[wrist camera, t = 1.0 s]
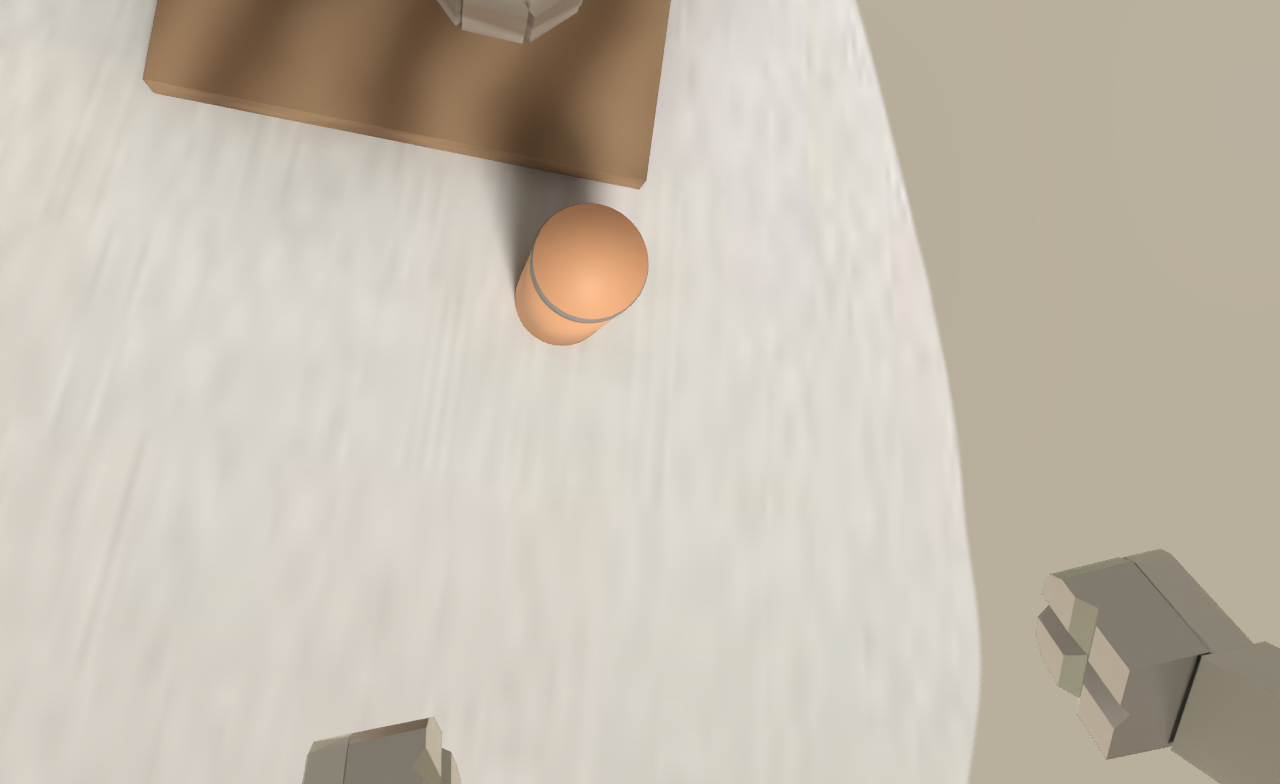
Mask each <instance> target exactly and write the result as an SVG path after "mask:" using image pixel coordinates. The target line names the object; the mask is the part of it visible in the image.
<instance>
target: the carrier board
mask: <svg viewBox="0 0 1280 784" xmlns="http://www.w3.org/2000/svg"><path fill="white" fill-rule="evenodd" d="M670 1H671V0H158V1H157V6H156V12H155V17H154V22H153V27H152V33H151V38H150V43H149V48H148V54H147V59H146V64H145V69H144V75H143V80H144V81H145V83H146V84H147V85H148V86H149V88H150V89H151V90H152V91H153V92H154V93H157V94H162V95H167V96H173V97H178V98H183V99H188V100H193V101H198V102H203V103H208V104H213V105H218V106H223V107H228V108H233V109H238V110H243V111H248V112H253V113H258V114H263V115H268V116H273V117H278V118H283V119H288V120H293V121H298V122H303V123H308V124H313V125H318V126H323V127H328V128H334V129H339V130H344V131H349V132H354V133H359V134H364V135H369V136H374V137H379V138H384V139H389V140H394V141H399V142H404V143H409V144H414V145H419V146H424V147H429V148H434V149H439V150H444V151H449V152H454V153H459V154H464V155H469V156H474V157H479V158H484V159H489V160H494V161H500V162H505V163H510V164H515V165H520V166H525V167H530V168H535V169H540V170H545V171H550V172H555V173H560V174H565V175H570V176H575V177H580V178H585V179H590V180H595V181H600V182H605V183H610V184H615V185H620V186H625V187H630V188H635V189H640V188H641V187H642V185H643V184H644V183H645V181H646V178H647V171H648V163H649V156H650V149H651V141H652V134H653V127H654V119H655V112H656V105H657V97H658V90H659V82H660V75H661V68H662V60H663V53H664V46H665V38H666V31H667V24H668V16H669V9H670Z"/></svg>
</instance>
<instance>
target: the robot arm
mask: <svg viewBox="0 0 1280 784" xmlns="http://www.w3.org/2000/svg"><path fill="white" fill-rule="evenodd" d="M1042 595H1043V597H1044V598H1045V600H1046V601H1047V602H1048V604H1049V605H1048V606H1047V608H1046V609H1045V610H1044V611H1043V612H1042V613H1041V614H1040V615H1039V616H1038V622H1037V631H1036V635H1037V640H1038V645H1039V649H1040V654H1041V656H1042V658H1043V661H1044V663H1045V665H1046V667H1047V669H1048V671H1049V673H1050V674H1051V676H1052V677H1053V679H1054V681H1055V682H1056V684H1057V685H1058V687H1060V688H1062V689H1064V690H1066V691H1067V692H1069V693H1071V694H1073V695H1074V696H1076V697H1078V698H1079V701H1078V709H1077V716H1078V718H1079V719H1080V721H1081V722H1082V724H1083V725H1084V727H1085V728H1086V730H1087V732H1088V733H1089V735H1090V736H1091V738H1092V739H1093V741H1094V742H1095V743H1096V745H1097V747H1098V748H1099V750H1100V751H1101V753H1102V754H1103V756H1104V757H1105V759H1106V760H1108V759H1112V758H1117V757H1122V756H1127V755H1131V754H1137V753H1141V752H1146V751H1151V750H1156V749H1160V748H1165V747H1170V746H1172V747H1171V751H1173V752H1174V753H1176V754H1177V755H1179V756H1180V757H1182V758H1183V759H1185V760H1186V761H1188V762H1189V763H1191V764H1192V765H1194V766H1195V767H1196V768H1198V769H1199V770H1201V771H1202V772H1204V773H1205V774H1207V775H1208V776H1210V777H1211V778H1213V779H1214V780H1216V781H1217V782H1218V783H1220V784H1280V648H1278V647H1276V646H1274V645H1271V644H1269V643H1267V642H1259V643H1254V644H1253V643H1252V641H1251V640H1250V639H1249V638H1248V637H1247V636H1246V635H1245V634H1244V633H1243V632H1242V631H1241V629H1240V628H1239V627H1238V626H1237V625H1236V624H1235V623H1234V622H1233V621H1232V620H1231V619H1230V617H1229V616H1228V615H1227V614H1226V613H1225V612H1224V611H1223V610H1222V609H1221V608H1220V607H1219V606H1218V604H1217V603H1216V602H1215V601H1214V600H1213V599H1212V598H1211V597H1210V596H1209V595H1208V594H1207V593H1206V591H1205V590H1204V589H1203V588H1202V587H1201V586H1200V585H1199V584H1198V583H1197V582H1196V581H1195V580H1194V578H1193V577H1192V576H1191V575H1190V574H1189V573H1188V572H1187V571H1186V570H1185V569H1184V568H1183V567H1182V565H1181V564H1180V563H1179V562H1178V561H1177V560H1176V559H1175V558H1174V557H1173V556H1172V555H1171V554H1170V553H1168V552H1166V551H1164V550H1162V549H1159V550H1152V551H1148V552H1144V553H1140V554H1136V555H1131V556H1128V557H1124V558H1114V559H1110V560H1106V561H1102V562H1098V563H1094V564H1090V565H1086V566H1082V567H1078V568H1074V569H1069V570H1065V571H1061V572H1057V573H1053V574H1050V575H1049V576H1048V577H1047V578H1046V579H1045V580H1044V585H1043V589H1042ZM302 784H461V779H460V775H459V771H458V768H457V764H456V762H455V759H454V757H453V755H452V753H451V752H450V751H448V750H445V749H443V748H442V731H441V729H440V727H439V725H438V723H437V722H436V720H435V718H434V717H430V718H425V719H420V720H415V721H411V722H406V723H401V724H396V725H391V726H386V727H381V728H376V729H371V730H366V731H362V732H357V733H351V734H347V735H342V736H338V737H333V738H329V739H324V740H320V741H315V742H313V744H312V746H311V749H310V751H309V753H308V755H307V758H306V765H305V771H304V777H303V783H302Z"/></svg>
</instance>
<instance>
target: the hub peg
mask: <svg viewBox="0 0 1280 784" xmlns="http://www.w3.org/2000/svg"><path fill="white" fill-rule="evenodd" d="M647 274H648V254H647V249H646V246H645V243H644V240H643V238H642V236H641V234H640V232H639V231H638V229H637V228H636V227H635V225H634V224H633V223H632V222H631V221H630V220H629V219H628V218H627V217H625V216H624V215H623V214H621V213H620V212H618V211H616V210H615V209H612V208H610V207H607V206H604V205H600V204H593V203H584V204H576V205H572V206H569V207H566V208H564V209H562V210H560V211H558V212H557V213H555V214H554V215H553V216H551V217H550V218H549V219H548V220H547V221H546V222H545V223H544V224H543V226H542V227H541V229H540V230H539V232H538V234H537V236H536V238H535V240H534V243H533V246H532V248H531V253H530V255H529V257H528V260H527V262H526V264H525V267H524V269H523V271H522V274H521V276H520V278H519V281H518V283H517V286H516V291H515V305H516V310H517V313H518V316H519V318H520V320H521V322H522V324H523V325H524V327H525V328H526V329H527V330H528V331H529V332H530V333H531V334H532V335H533V336H535V337H536V338H538V339H540V340H541V341H543V342H546V343H549V344H553V345H572V344H576V343H579V342H581V341H583V340H585V339H587V338H588V337H590V336H591V335H592V334H593V333H595V332H596V331H597V330H598V329H600V328H601V327H602V326H604V325H605V324H606V323H607V322H609V321H610V320H611V319H612V318H614V317H616V316H618V315H619V314H621V313H622V312H623V311H625V310H626V309H627V308H628V307H630V306H631V305H632V304H633V303H634V302H635V300H636V299H637V298H638V296H639V295H640V293H641V292H642V290H643V288H644V285H645V282H646V279H647Z"/></svg>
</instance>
